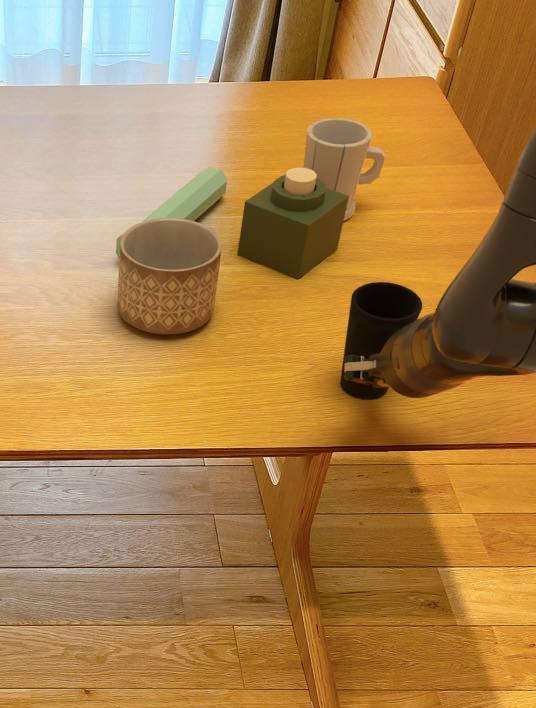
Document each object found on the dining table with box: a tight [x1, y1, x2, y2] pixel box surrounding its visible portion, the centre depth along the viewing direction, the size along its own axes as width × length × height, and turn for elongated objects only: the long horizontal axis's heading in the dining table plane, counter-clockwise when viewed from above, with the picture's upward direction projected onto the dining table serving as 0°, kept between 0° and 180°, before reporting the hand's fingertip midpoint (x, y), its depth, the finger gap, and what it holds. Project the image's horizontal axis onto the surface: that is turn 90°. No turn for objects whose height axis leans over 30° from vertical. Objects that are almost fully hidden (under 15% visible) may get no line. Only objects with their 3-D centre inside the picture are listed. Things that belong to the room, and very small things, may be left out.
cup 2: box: [339, 281, 423, 401], centre depth 119 cm, size 8×8×12 cm
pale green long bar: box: [115, 166, 228, 258], centre depth 148 cm, size 6×6×25 cm
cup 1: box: [302, 117, 386, 222], centre depth 147 cm, size 10×9×12 cm
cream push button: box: [284, 167, 317, 195], centre depth 136 cm, size 4×4×2 cm
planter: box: [116, 218, 223, 335], centre depth 131 cm, size 13×13×10 cm
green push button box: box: [237, 173, 349, 280], centre depth 140 cm, size 10×10×10 cm
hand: (378, 378), depth 117 cm, fingers closed
